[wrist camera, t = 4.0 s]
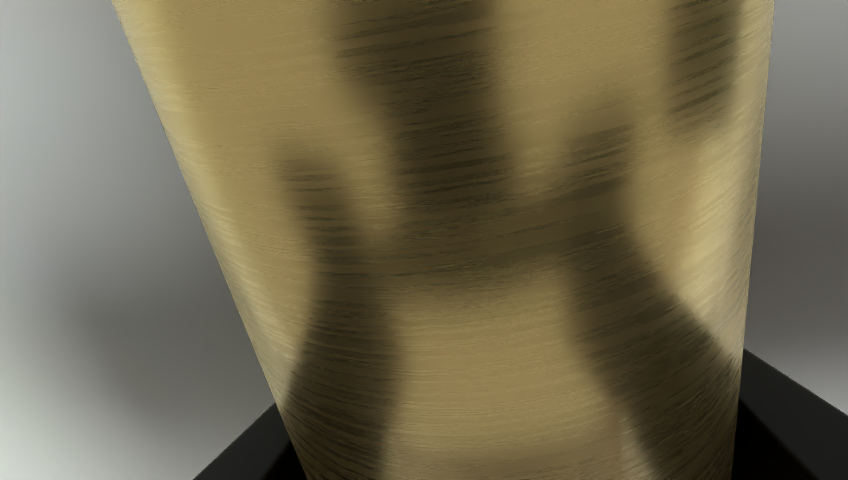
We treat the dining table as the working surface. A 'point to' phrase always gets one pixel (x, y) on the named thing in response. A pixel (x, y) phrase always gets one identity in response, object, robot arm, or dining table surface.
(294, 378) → the gold cylindrical piece
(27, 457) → the dining table surface
